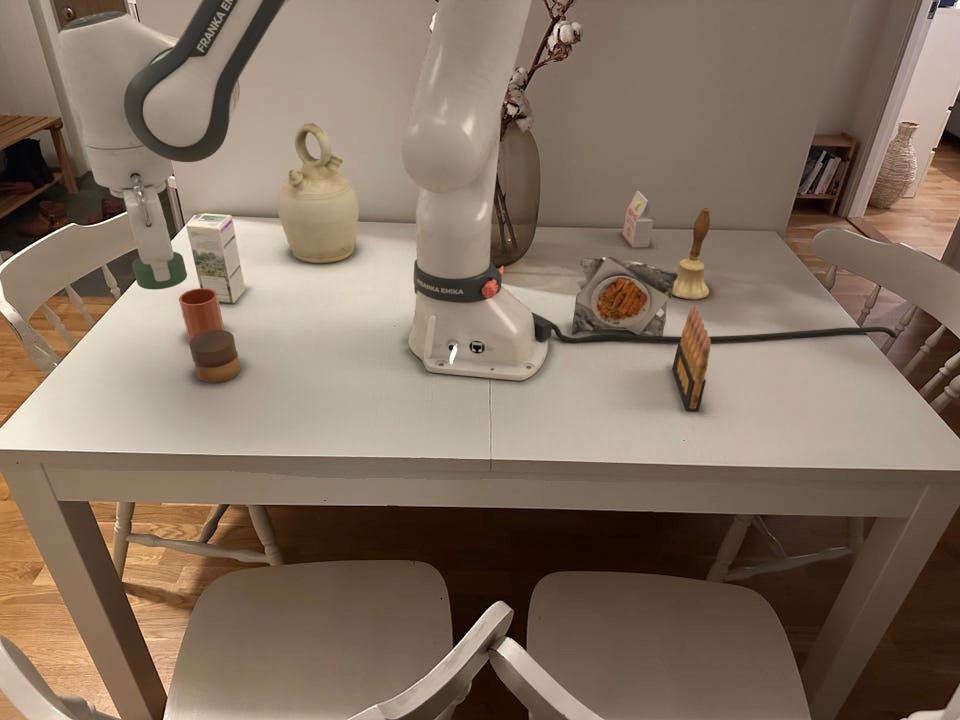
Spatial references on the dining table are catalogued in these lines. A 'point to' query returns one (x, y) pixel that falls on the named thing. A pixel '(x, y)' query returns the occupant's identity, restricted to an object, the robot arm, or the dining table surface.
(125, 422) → the dining table surface
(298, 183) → the jug
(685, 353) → the ammunition clip
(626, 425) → the dining table surface
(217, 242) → the syrup box
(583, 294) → the meal
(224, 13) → the robot arm
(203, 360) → the walnut chip
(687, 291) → the hand bell
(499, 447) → the dining table surface
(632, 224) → the white carton
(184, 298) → the cup
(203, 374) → the oak chip
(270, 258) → the dining table surface
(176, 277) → the green chip
